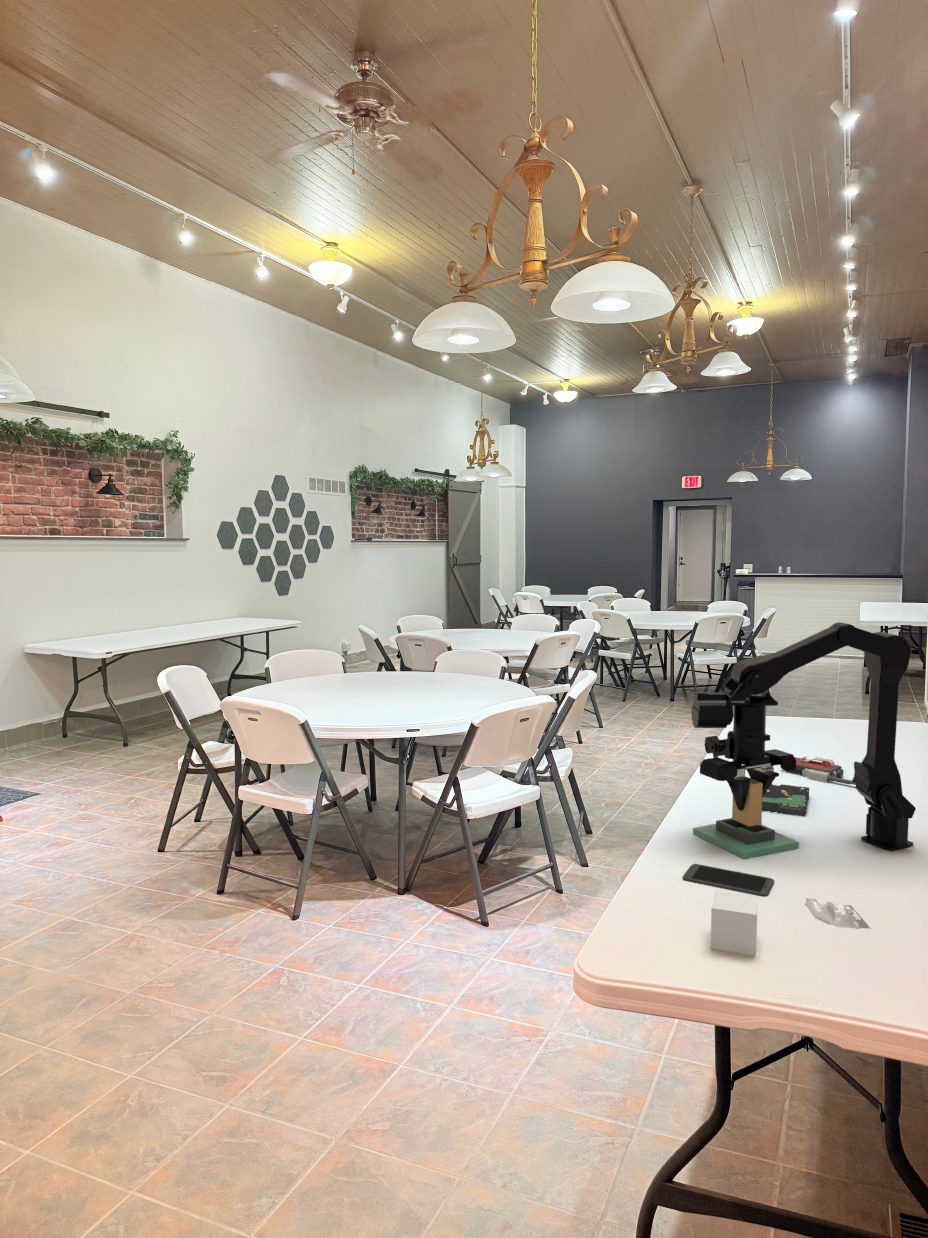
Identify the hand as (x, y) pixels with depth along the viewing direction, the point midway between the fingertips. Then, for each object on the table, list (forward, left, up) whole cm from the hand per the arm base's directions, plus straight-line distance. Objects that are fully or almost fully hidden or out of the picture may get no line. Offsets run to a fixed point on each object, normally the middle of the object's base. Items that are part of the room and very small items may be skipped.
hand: (747, 809), depth 154 cm
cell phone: (-13, +16, -7) cm, 21 cm away
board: (0, 0, -6) cm, 6 cm away
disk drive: (+15, -23, -7) cm, 28 cm away
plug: (0, 0, -2) cm, 3 cm away
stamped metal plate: (-29, +10, -7) cm, 32 cm away
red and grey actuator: (+25, -47, -7) cm, 54 cm away
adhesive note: (-30, +30, -7) cm, 42 cm away
